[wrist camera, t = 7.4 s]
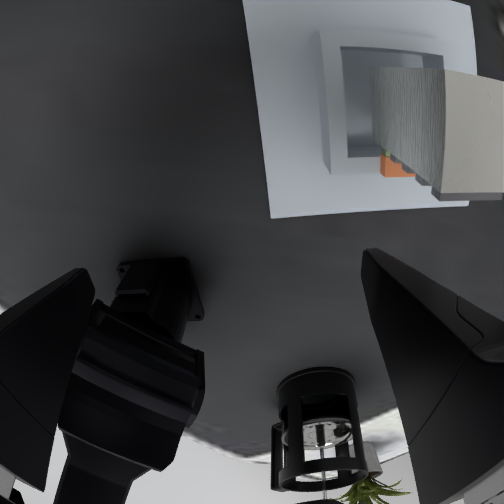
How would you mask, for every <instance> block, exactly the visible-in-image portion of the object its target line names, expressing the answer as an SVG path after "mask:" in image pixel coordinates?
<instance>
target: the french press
mask: <svg viewBox="0 0 504 504" xmlns="http://www.w3.org/2000/svg"><path fill="white" fill-rule="evenodd" d="M355 387H356V384H355V380H354V378H353V376H352V375H351V374H350V373H348V372H346V371H345V370H341V369H338V368H332V367H318V368H311V369H306V370H302V371H299V372H296V373H294V374H292V375H290V376H288V377H287V378H285V379H284V380H283V381H282V382H281V383H280V384H279V386H278V388H277V398H278V400H279V418H280V420H281V421H282V422H280V423H277V424H275V425H273V426H272V429H271V489H272V490H274V491H279V492H285V491H296V492H297V491H298V492H317V491H323V500H315V501H308V502H302V503H297V504H343V503H341V502H339V501H337V500H333V499H327V494H326V490H333V489H338V488H342V487H346V486H349V485H352V484H355V483H357V482H360V481H362V480H363V479H365V478H366V477H367V476H368V465H367V461H366V460H365V454H364V447H363V441H362V434H361V428H360V422H359V416H358V411H357V407H358V405H357V399H356V393H355ZM320 394H338V395H341V396H340V397H338V398H337V399H335V400H333V401H331V402H329V403H326V404H322V405H314V406H306V405H302V400H301V398H304V397H308V396H313V395H320ZM283 431H284V433H283ZM282 433H283V434H282ZM351 439H353V444H354V451H355V457H350V453H349V445H348V441H349V440H351ZM283 443H284V469H283ZM331 447H335V451H336V457H333V458H324V451H323V449H326V448H331ZM318 449H320V457H321V459H317V460H311V461H306V462H305V454H304V450H318ZM333 470H337V472H338V478H336V479H332V480H326V478H325V471H333ZM352 470H359V471H357V472H355V473H353V474H352ZM317 472H322V481H316V482H300V481H296V477H297V476H301V475H305V474H311V473H317ZM358 504H366V503H365V502H361V503H358Z"/></svg>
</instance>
